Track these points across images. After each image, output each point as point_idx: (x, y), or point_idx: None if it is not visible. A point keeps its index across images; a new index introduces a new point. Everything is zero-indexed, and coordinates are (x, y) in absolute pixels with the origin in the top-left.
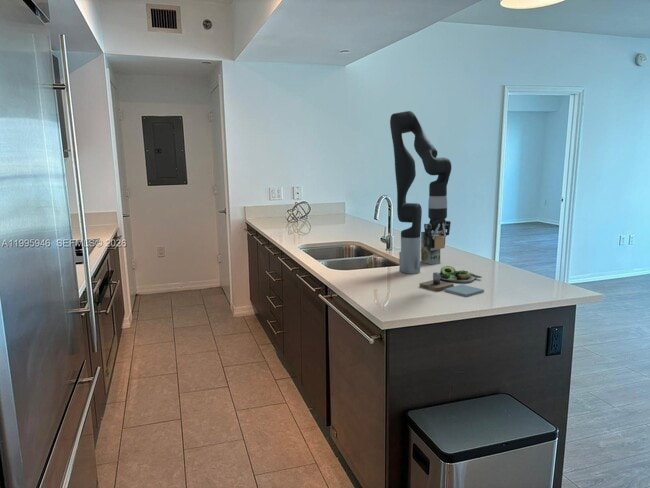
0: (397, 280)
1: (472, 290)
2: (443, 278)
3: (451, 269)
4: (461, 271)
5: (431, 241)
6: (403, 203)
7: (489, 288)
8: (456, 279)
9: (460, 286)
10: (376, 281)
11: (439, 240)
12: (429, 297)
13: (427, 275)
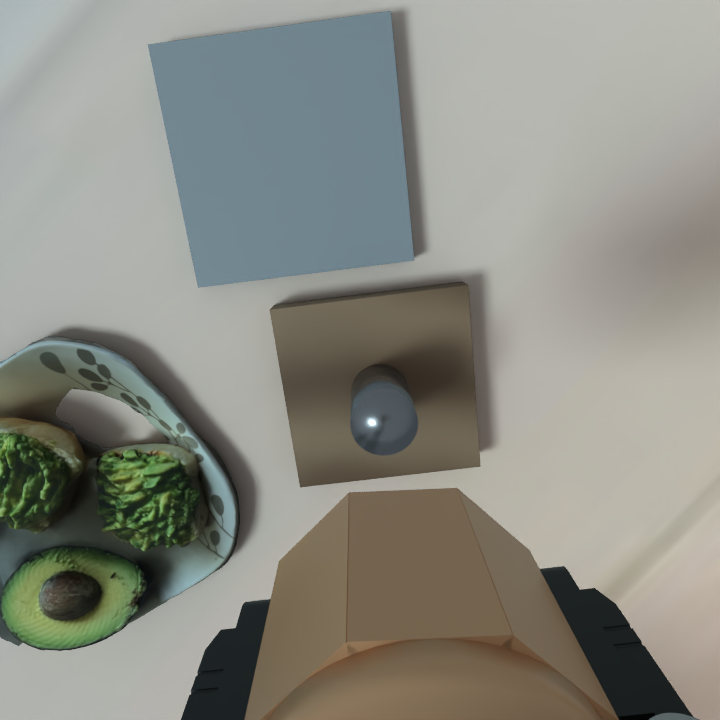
0: None
1: (255, 83)
2: (202, 500)
3: (34, 596)
4: (9, 497)
5: (667, 690)
6: None
7: (38, 112)
8: (114, 448)
9: (253, 244)
10: None
11: (519, 621)
12: (627, 191)
13: None
